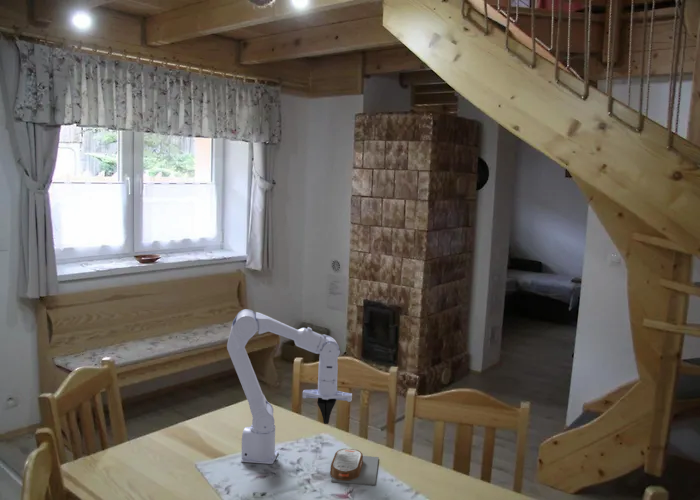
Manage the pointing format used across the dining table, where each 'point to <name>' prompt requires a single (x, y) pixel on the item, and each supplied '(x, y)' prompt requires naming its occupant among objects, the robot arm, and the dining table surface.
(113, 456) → the dining table surface
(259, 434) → the robot arm
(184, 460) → the dining table surface
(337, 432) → the dining table surface
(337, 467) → the tin
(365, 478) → the mat
